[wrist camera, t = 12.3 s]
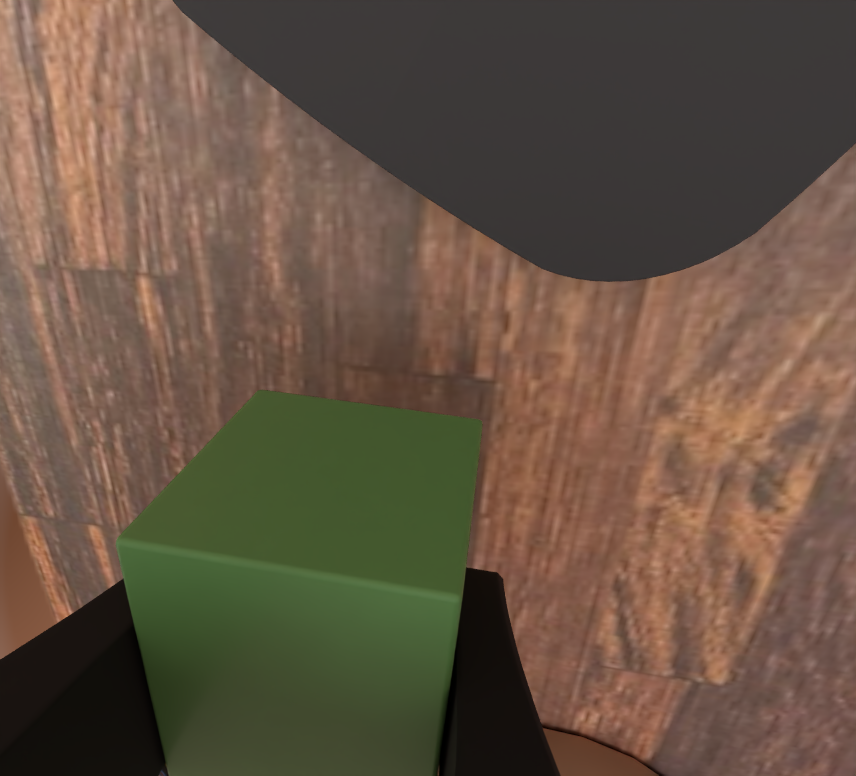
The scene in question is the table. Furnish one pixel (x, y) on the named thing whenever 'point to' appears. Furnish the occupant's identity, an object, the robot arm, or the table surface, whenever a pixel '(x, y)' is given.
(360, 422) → the block
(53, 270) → the table surface
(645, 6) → the media streaming box
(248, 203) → the table surface
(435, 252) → the table surface
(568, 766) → the alarm clock
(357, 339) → the table surface
